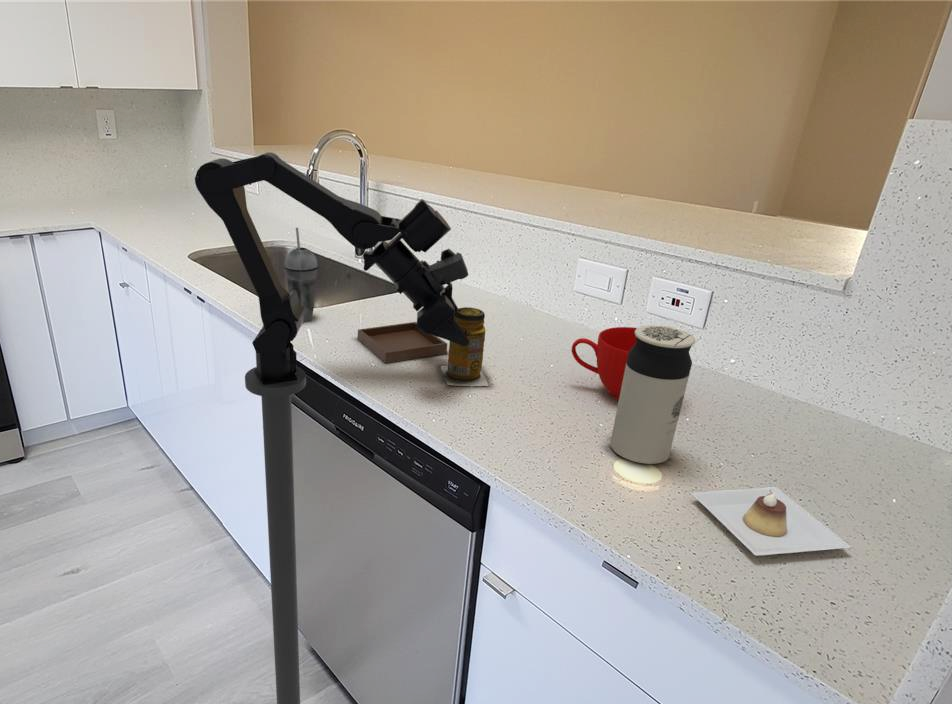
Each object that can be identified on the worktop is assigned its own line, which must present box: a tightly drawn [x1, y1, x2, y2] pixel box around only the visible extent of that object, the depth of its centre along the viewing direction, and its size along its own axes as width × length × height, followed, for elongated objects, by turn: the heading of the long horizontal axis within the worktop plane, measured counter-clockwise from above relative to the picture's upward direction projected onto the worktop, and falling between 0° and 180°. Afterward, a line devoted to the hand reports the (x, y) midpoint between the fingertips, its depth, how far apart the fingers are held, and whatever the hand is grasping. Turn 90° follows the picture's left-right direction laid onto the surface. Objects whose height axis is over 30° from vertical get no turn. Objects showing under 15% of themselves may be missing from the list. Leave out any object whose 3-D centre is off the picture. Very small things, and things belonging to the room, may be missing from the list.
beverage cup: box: [283, 227, 319, 323], centre depth 138 cm, size 7×7×20 cm
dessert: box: [691, 486, 852, 557], centre depth 77 cm, size 12×12×5 cm
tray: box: [357, 321, 448, 364], centre depth 128 cm, size 13×13×2 cm
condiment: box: [440, 306, 489, 388], centre depth 113 cm, size 7×8×12 cm
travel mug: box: [609, 324, 696, 465], centre depth 90 cm, size 8×8×18 cm
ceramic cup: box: [571, 326, 638, 401], centre depth 109 cm, size 13×17×10 cm
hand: (466, 334), depth 112 cm, fingers open, 9 cm apart
